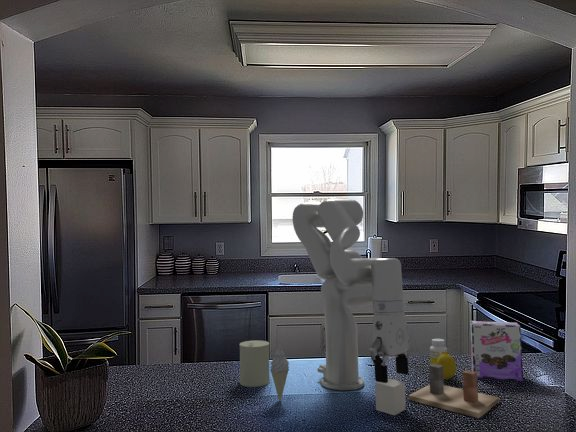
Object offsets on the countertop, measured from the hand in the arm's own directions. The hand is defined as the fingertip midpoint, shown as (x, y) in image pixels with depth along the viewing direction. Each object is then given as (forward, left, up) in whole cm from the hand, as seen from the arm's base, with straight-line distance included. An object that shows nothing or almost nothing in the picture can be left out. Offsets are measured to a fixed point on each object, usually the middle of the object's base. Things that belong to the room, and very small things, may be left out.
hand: (392, 377), depth 106 cm
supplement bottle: (-7, +40, -8) cm, 42 cm away
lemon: (-1, +32, -8) cm, 33 cm away
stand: (+8, +16, -8) cm, 20 cm away
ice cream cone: (-26, -14, -8) cm, 30 cm away
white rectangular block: (-1, 0, -8) cm, 8 cm away
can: (-43, -8, -8) cm, 44 cm away
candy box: (+9, +45, -8) cm, 47 cm away
